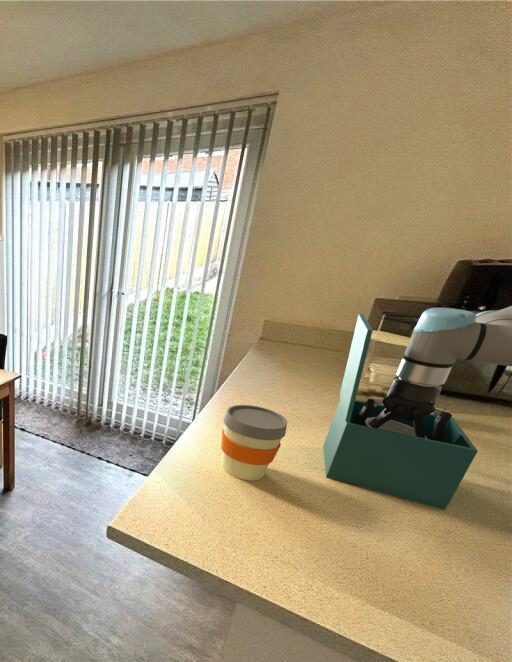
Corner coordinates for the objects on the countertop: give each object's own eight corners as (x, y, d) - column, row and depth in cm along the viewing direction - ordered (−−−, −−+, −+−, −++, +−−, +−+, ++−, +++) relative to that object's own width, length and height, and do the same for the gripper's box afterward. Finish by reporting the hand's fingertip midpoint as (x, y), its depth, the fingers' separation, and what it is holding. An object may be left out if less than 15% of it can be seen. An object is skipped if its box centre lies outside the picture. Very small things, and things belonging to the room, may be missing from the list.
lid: (363, 313, 92) (358, 313, 93) (372, 329, 80) (367, 329, 81) (343, 395, 100) (339, 395, 100) (349, 422, 87) (345, 421, 88)
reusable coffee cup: (202, 459, 102) (213, 407, 96) (243, 452, 104) (256, 401, 98) (240, 489, 90) (255, 432, 84) (284, 480, 93) (302, 425, 87)
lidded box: (426, 471, 95) (453, 417, 89) (445, 509, 83) (478, 450, 77) (323, 446, 106) (341, 397, 100) (326, 477, 94) (346, 423, 88)
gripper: (483, 385, 82) (436, 474, 91) (354, 366, 93) (324, 447, 102) (496, 398, 76) (445, 491, 85) (357, 376, 87) (325, 460, 97)
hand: (379, 467), depth 94 cm, fingers closed on plastic cup, 8 cm apart
